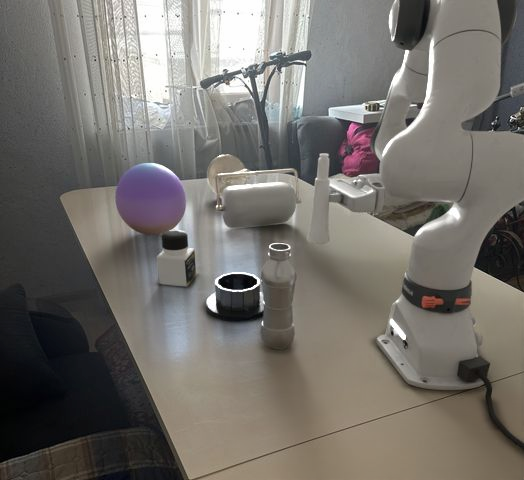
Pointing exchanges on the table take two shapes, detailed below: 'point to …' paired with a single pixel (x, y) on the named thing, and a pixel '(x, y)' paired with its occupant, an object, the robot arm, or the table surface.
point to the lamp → (250, 194)
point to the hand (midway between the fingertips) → (318, 196)
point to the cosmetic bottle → (320, 204)
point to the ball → (150, 199)
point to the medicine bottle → (176, 259)
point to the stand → (236, 298)
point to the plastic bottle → (278, 297)
